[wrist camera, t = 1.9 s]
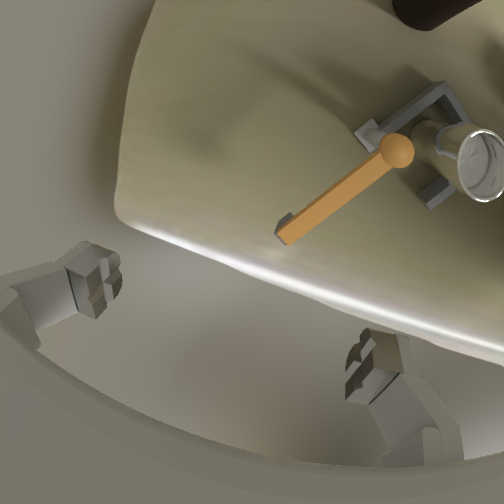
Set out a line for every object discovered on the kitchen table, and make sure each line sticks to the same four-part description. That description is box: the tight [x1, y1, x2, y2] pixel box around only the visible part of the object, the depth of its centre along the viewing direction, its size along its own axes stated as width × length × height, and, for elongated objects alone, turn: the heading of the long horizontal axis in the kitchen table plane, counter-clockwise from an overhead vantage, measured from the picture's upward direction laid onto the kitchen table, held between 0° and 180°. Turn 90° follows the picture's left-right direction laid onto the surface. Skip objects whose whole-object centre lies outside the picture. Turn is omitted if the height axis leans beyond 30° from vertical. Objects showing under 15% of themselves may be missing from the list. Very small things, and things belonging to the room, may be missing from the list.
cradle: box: [353, 81, 472, 211], centre depth 24 cm, size 13×14×12 cm
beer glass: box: [410, 120, 504, 202], centre depth 22 cm, size 7×7×15 cm
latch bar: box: [274, 133, 415, 246], centre depth 23 cm, size 15×3×4 cm, turn 135°
